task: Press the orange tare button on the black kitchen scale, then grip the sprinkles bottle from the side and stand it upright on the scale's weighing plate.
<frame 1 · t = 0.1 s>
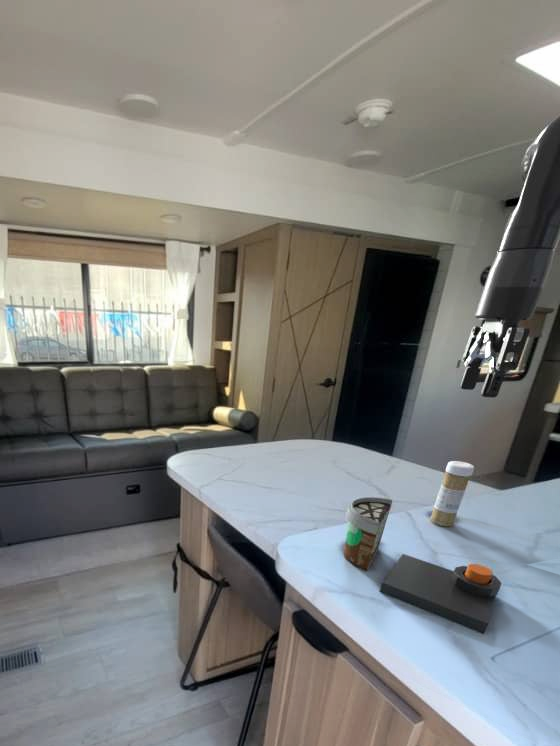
hand: (476, 392, 70), 28 cm above the table, tool pointing down, fingers open, 8 cm apart
sprinkles bottle: (440, 523, 88), on the table
tare button: (478, 574, 63), point 4 cm above the table, slide at 0.1 cm
scale: (436, 594, 65), on the table
food container: (354, 555, 75), on the table
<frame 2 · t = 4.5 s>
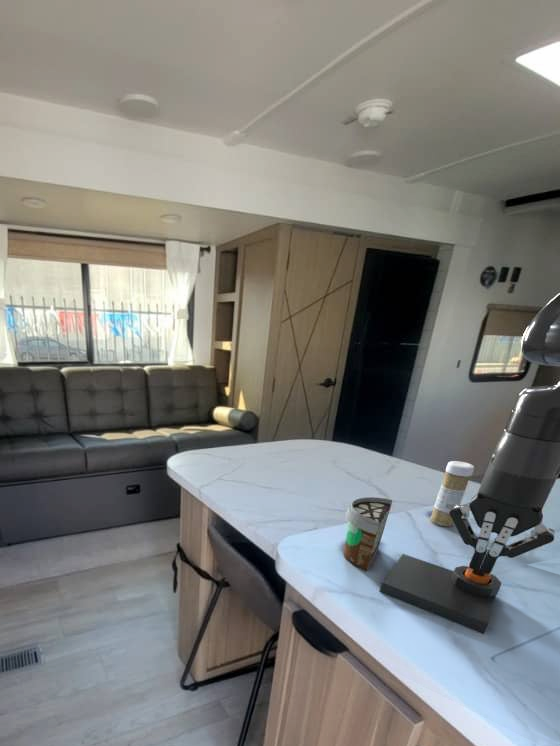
hand: (477, 572, 63), 4 cm above the table, tool pointing down, fingers closed
tare button: (476, 577, 63), point 3 cm above the table, slide at -0.5 cm, touching gripper
everything else where it was.
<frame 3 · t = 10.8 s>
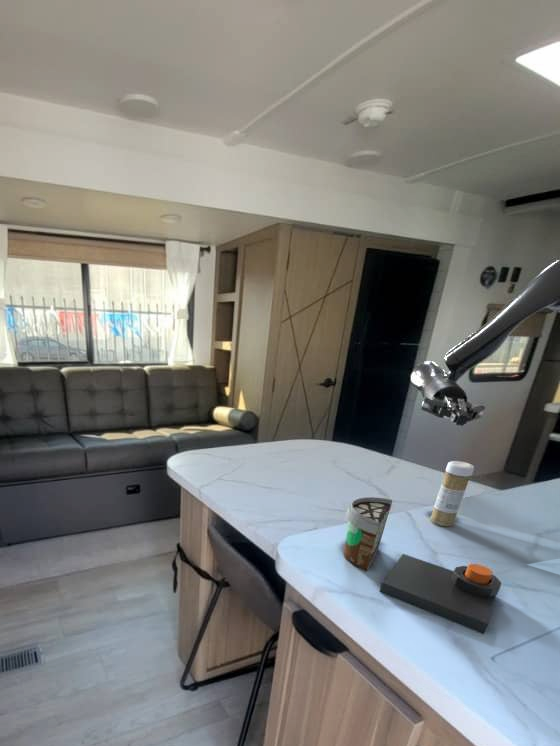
hand: (461, 420, 84), 21 cm above the table, tool horizontal, fingers closed
tare button: (478, 574, 63), point 4 cm above the table, slide at 0.1 cm
everything else where it was.
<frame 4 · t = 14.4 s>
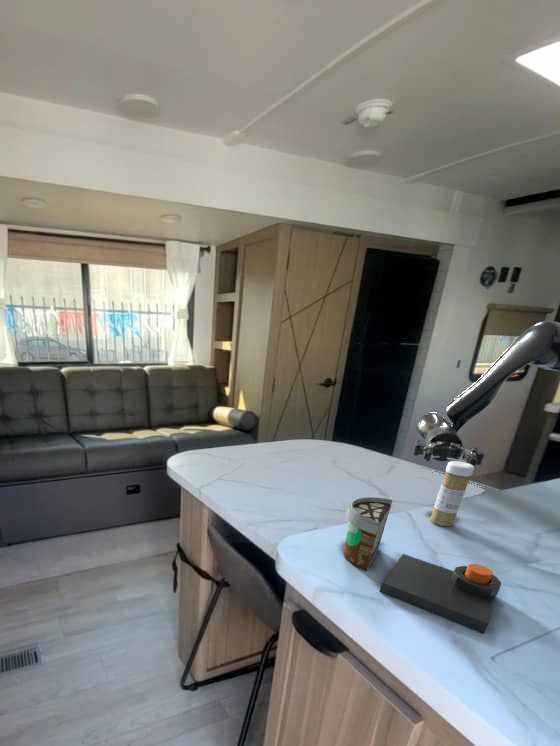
hand: (450, 460, 93), 11 cm above the table, tool horizontal, fingers open, 8 cm apart
nothing on the table moved.
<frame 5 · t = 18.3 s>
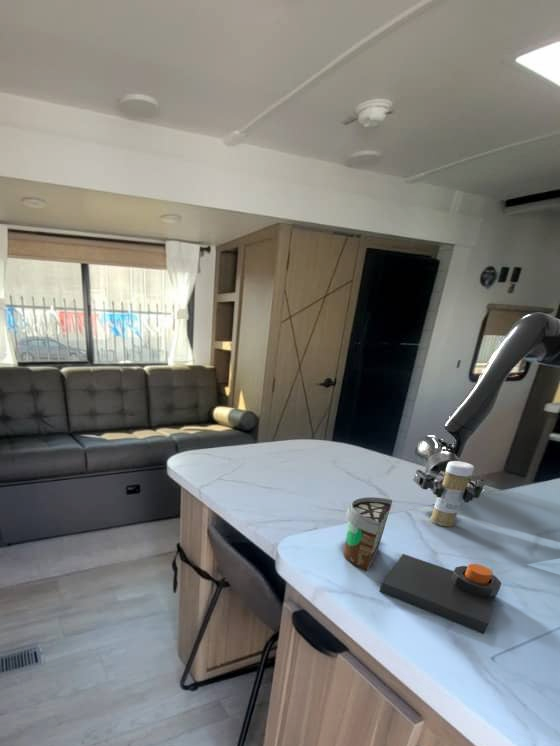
hand: (454, 495, 83), 8 cm above the table, tool horizontal, fingers closed on sprinkles bottle, 4 cm apart
sprinkles bottle: (440, 523, 88), on the table, touching gripper
everything else where it was.
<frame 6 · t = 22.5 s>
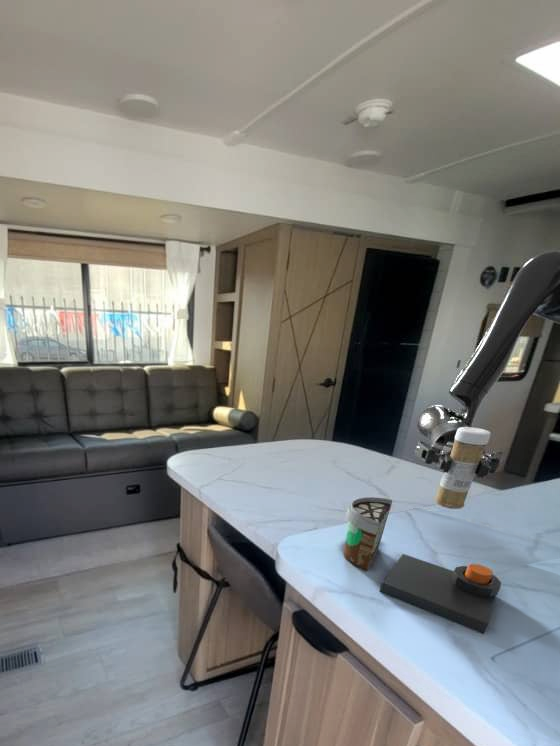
hand: (465, 469, 66), 18 cm above the table, tool horizontal, fingers closed on sprinkles bottle, 4 cm apart
sprinkles bottle: (447, 505, 72), point 10 cm above the table, touching gripper
everything else where it was.
when the fingers open (9 cm above the table, at t = 27.2 s): sprinkles bottle stays where it is, resting on scale.
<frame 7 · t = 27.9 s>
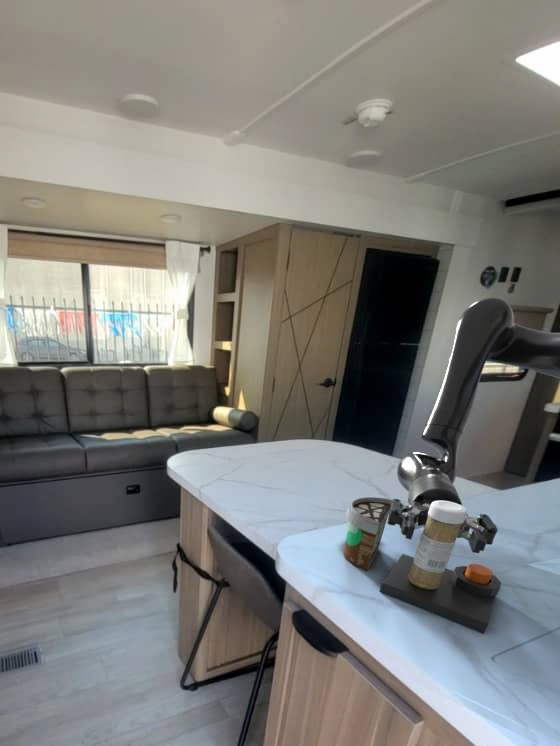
hand: (443, 540, 59), 11 cm above the table, tool horizontal, fingers open, 8 cm apart
sprinkles bottle: (422, 583, 64), point 2 cm above the table, touching scale
everything else where it was.
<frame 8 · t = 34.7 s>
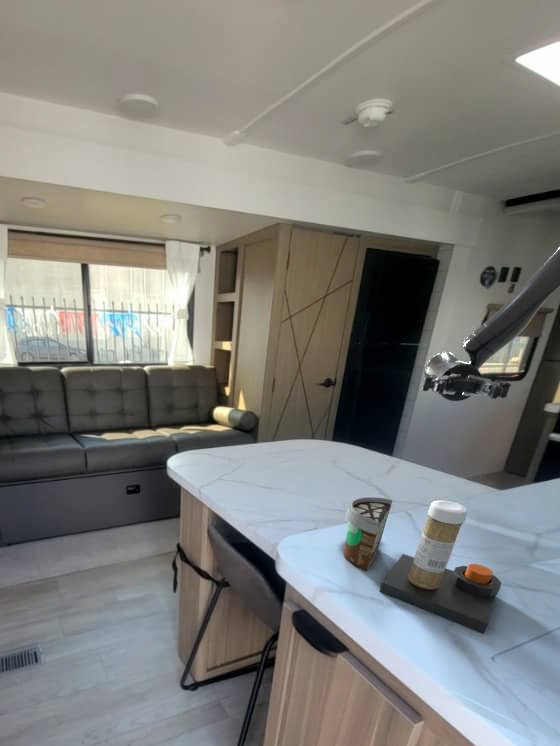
hand: (468, 390, 75), 28 cm above the table, tool horizontal, fingers open, 8 cm apart
nothing on the table moved.
at the end: tare button pushed in 0.9 cm at the most during the clip, back to where it started at the end; sprinkles bottle inside the target area on the scale (2.6 cm from its centre), point 1.7 cm above the scale's base; sprinkles bottle tilted 0° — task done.
